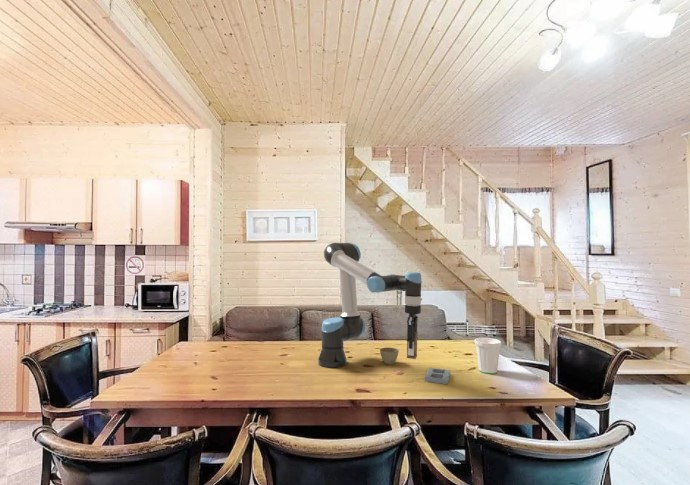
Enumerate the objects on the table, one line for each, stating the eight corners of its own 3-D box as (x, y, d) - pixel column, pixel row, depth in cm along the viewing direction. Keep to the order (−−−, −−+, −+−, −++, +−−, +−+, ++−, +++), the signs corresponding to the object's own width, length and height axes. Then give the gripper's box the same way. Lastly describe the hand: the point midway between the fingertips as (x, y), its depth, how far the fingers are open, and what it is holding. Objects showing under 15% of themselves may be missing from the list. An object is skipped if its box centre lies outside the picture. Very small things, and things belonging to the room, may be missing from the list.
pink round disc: (392, 373, 175) (392, 373, 175) (394, 370, 180) (394, 369, 180) (402, 374, 173) (402, 374, 173) (404, 371, 178) (404, 371, 178)
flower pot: (398, 366, 185) (398, 352, 186) (379, 365, 187) (379, 351, 188) (399, 360, 195) (399, 347, 195) (380, 359, 197) (380, 346, 197)
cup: (481, 365, 187) (481, 336, 188) (505, 371, 178) (505, 340, 179) (470, 371, 179) (470, 340, 179) (495, 377, 170) (494, 345, 170)
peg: (406, 357, 169) (407, 332, 169) (408, 355, 173) (409, 330, 173) (415, 359, 168) (415, 333, 168) (416, 356, 171) (417, 331, 171)
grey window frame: (424, 381, 165) (424, 376, 165) (429, 371, 178) (429, 367, 178) (447, 384, 161) (447, 379, 161) (450, 374, 174) (450, 370, 174)
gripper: (417, 308, 161) (416, 360, 161) (423, 302, 177) (422, 350, 177) (401, 306, 164) (400, 357, 164) (408, 301, 180) (407, 348, 180)
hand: (411, 353), depth 170 cm, fingers closed on peg, 4 cm apart
